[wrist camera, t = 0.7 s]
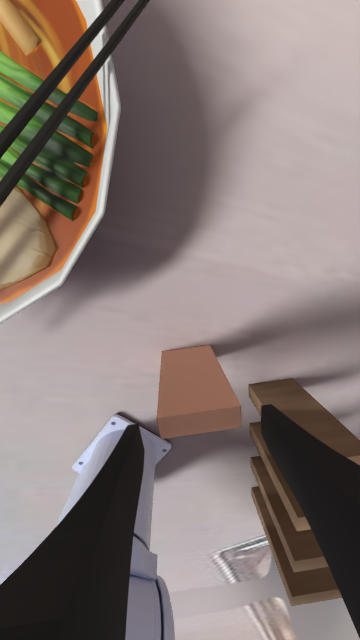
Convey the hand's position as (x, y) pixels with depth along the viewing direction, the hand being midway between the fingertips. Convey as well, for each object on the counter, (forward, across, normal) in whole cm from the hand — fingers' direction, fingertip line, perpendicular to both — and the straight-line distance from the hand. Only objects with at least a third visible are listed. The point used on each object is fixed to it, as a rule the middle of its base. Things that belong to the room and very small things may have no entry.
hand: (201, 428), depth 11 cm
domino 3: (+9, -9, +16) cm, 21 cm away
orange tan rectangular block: (+9, 0, 0) cm, 9 cm away
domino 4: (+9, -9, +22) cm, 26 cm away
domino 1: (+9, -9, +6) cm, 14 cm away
